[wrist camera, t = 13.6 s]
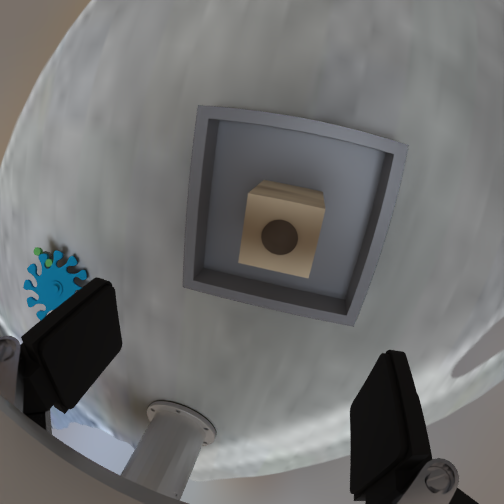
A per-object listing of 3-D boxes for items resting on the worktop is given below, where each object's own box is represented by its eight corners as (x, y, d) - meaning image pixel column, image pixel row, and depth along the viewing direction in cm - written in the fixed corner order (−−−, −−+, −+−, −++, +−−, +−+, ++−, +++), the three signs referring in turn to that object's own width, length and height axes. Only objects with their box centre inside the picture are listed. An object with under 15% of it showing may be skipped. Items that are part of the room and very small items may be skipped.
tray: (350, 305, 27) (353, 326, 24) (196, 270, 29) (182, 287, 26) (396, 143, 21) (408, 145, 18) (213, 108, 23) (198, 105, 20)
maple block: (310, 246, 25) (308, 279, 20) (254, 234, 26) (237, 263, 20) (322, 191, 23) (325, 209, 17) (263, 179, 24) (247, 193, 18)
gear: (102, 309, 33) (42, 338, 29) (104, 303, 38) (51, 329, 34) (68, 230, 31) (9, 261, 27) (75, 234, 37) (22, 261, 32)
